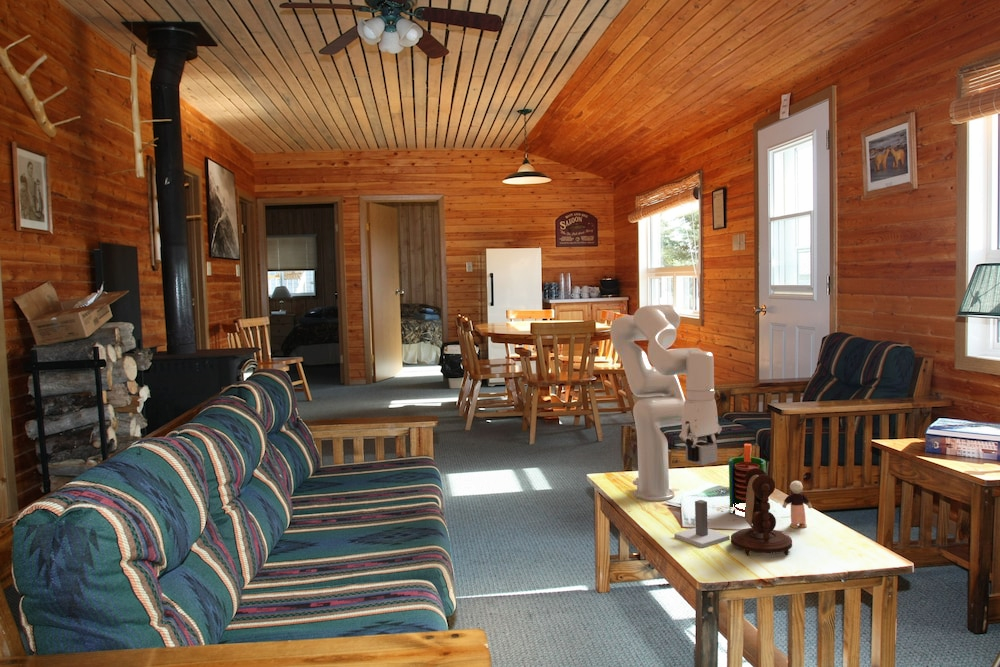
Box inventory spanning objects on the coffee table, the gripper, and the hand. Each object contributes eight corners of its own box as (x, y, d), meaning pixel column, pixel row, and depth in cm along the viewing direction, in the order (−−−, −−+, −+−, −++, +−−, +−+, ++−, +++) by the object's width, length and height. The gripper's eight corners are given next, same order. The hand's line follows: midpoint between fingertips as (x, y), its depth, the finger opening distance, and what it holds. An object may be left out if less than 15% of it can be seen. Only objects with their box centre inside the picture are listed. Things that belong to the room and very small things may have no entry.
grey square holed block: (685, 460, 211) (685, 443, 211) (701, 457, 214) (700, 440, 214) (701, 465, 206) (701, 447, 206) (717, 461, 209) (716, 444, 209)
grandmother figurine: (806, 522, 208) (805, 478, 207) (813, 527, 204) (813, 481, 203) (780, 525, 207) (779, 480, 206) (787, 529, 203) (786, 483, 202)
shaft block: (674, 537, 201) (673, 500, 201) (701, 529, 206) (700, 493, 206) (702, 547, 193) (701, 509, 192) (729, 539, 198) (728, 502, 197)
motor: (730, 517, 216) (729, 448, 214) (728, 507, 224) (727, 442, 223) (767, 518, 213) (766, 449, 212) (764, 508, 222) (763, 442, 221)
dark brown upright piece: (724, 539, 198) (723, 464, 197) (781, 537, 197) (780, 463, 196) (739, 559, 184) (737, 479, 182) (800, 558, 183) (799, 478, 181)
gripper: (712, 390, 216) (713, 451, 218) (667, 397, 207) (669, 461, 209) (732, 393, 210) (733, 456, 211) (687, 401, 201) (688, 466, 203)
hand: (701, 458), depth 210 cm, fingers closed on grey square holed block, 6 cm apart
